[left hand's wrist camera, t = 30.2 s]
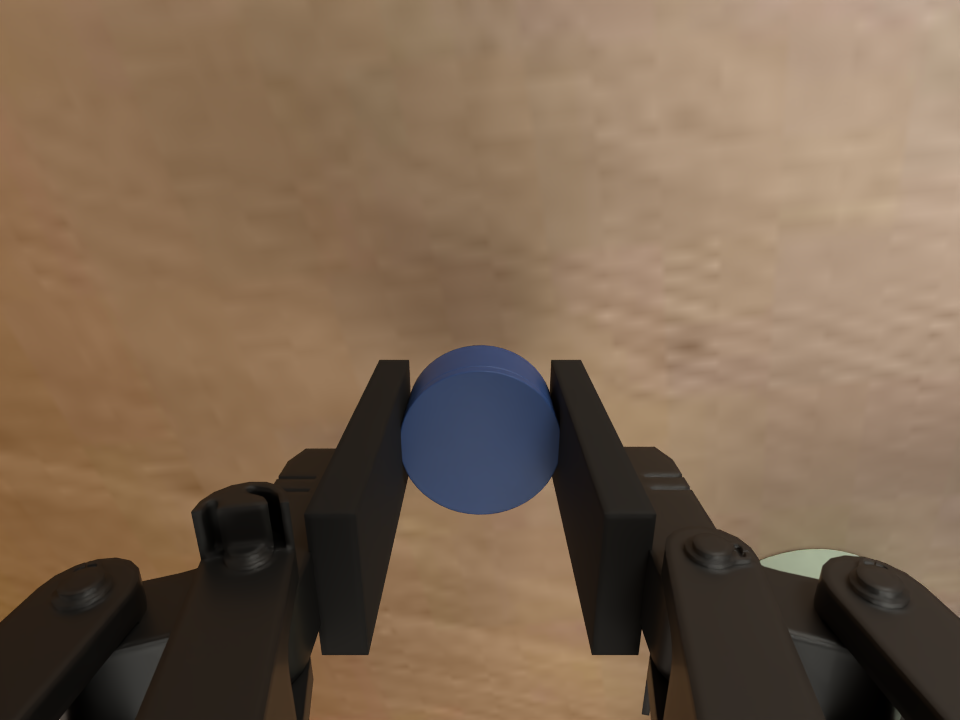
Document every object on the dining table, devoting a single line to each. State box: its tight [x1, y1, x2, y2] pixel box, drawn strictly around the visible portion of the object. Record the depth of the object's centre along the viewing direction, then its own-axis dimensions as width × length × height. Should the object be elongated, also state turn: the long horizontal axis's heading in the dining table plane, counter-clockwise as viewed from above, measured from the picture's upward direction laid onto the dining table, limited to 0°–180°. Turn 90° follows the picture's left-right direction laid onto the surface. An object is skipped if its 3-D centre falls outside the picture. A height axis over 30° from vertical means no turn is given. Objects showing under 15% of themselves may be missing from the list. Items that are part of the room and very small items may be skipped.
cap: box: [401, 345, 560, 515], centre depth 14 cm, size 4×4×2 cm
